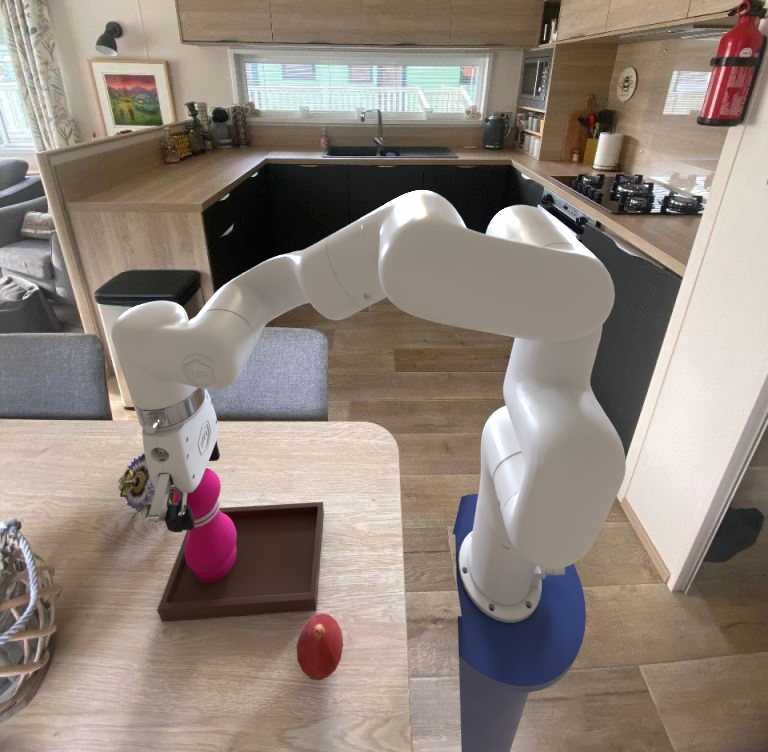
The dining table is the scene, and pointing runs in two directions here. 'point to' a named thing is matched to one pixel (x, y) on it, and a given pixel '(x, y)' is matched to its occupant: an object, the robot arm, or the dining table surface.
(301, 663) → the onion
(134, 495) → the passion flower
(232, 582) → the tray
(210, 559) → the pepper mill
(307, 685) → the dining table surface
